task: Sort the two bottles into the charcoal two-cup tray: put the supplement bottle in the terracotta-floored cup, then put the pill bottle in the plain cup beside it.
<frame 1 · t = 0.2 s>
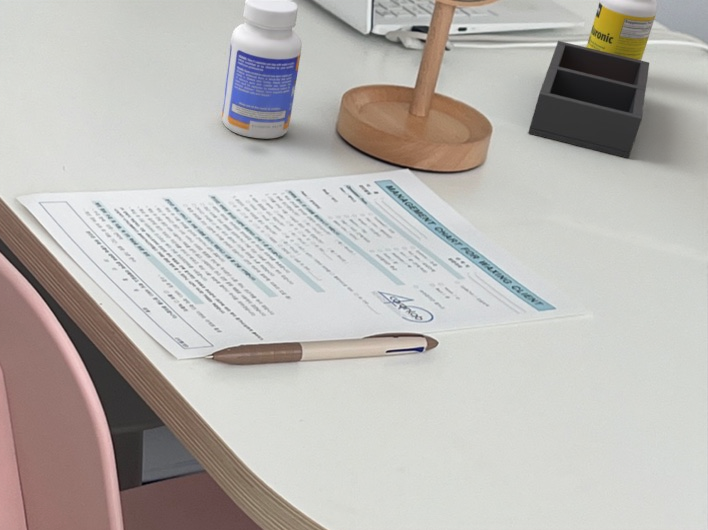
sorting tray: (585, 115, 117), on the table
pill bottle: (253, 129, 103), on the table
supplement bottle: (606, 75, 128), on the table
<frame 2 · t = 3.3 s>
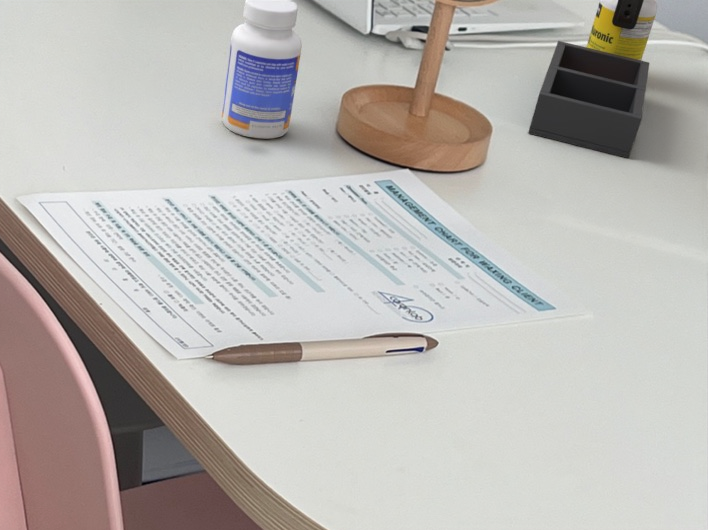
hand: (624, 17, 124), 5 cm above the table, tool pointing down, fingers closed on supplement bottle, 5 cm apart
supplement bottle: (606, 75, 128), on the table, touching gripper
everything else where it was.
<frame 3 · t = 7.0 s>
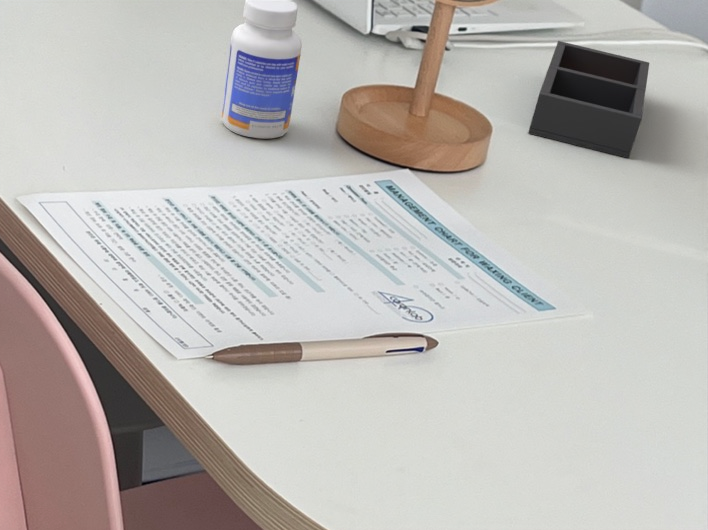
when the fingers open (6 cm above the table, at t = 10.5 s): supplement bottle stays where it is, resting on sorting tray.
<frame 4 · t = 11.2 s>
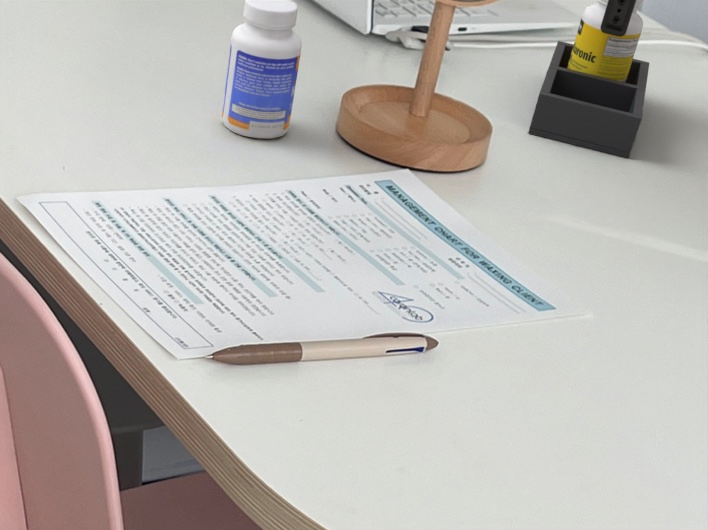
hand: (615, 21, 116), 7 cm above the table, tool pointing down, fingers open, 8 cm apart
supplement bottle: (589, 96, 119), point 1 cm above the table, touching sorting tray
everything else where it was.
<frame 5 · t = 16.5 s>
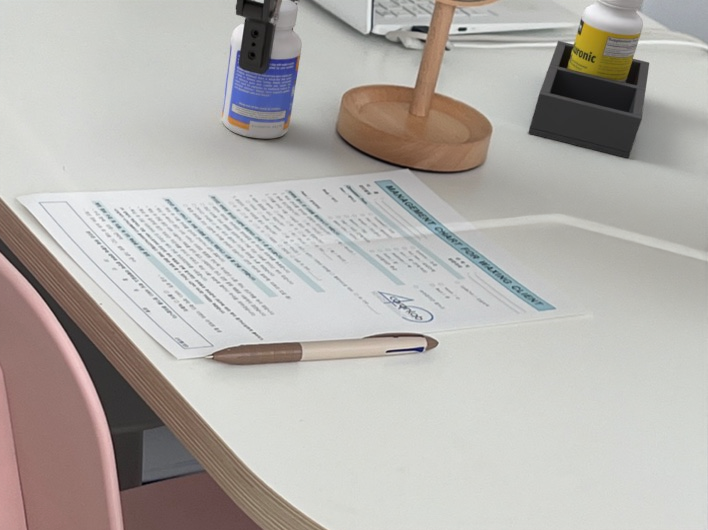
hand: (264, 58, 100), 5 cm above the table, tool pointing down, fingers closed on pill bottle, 5 cm apart
pill bottle: (253, 129, 103), on the table, touching gripper
everything else where it was.
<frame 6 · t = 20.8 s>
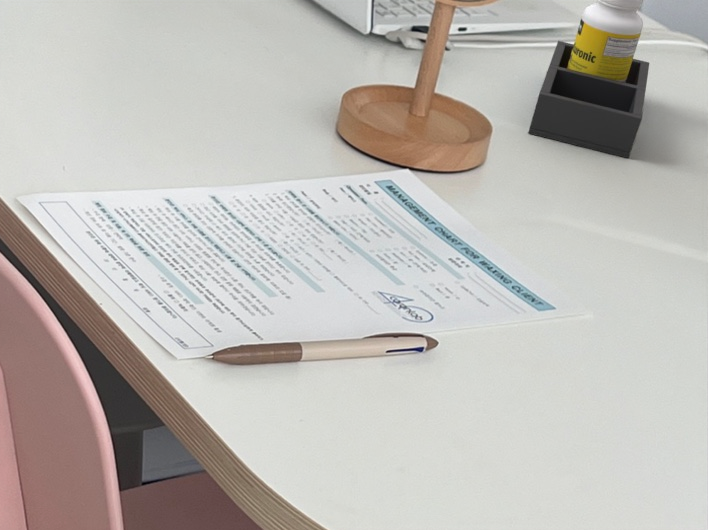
when the fingers open (6 cm above the table, at t = 25.1 s): pill bottle stays where it is, resting on sorting tray.
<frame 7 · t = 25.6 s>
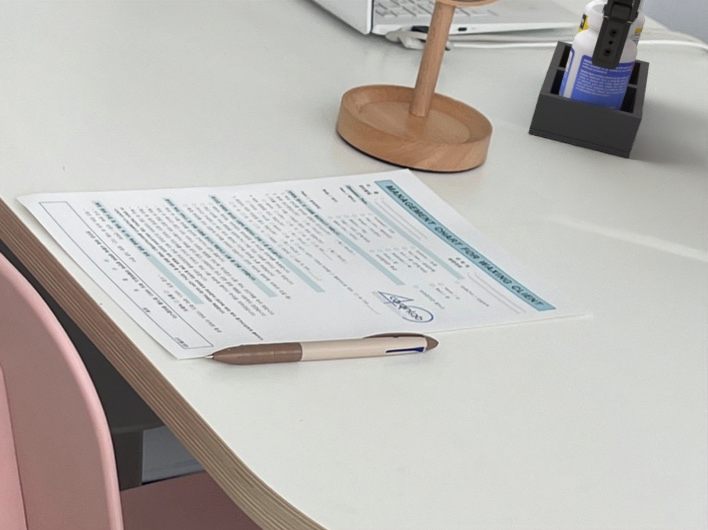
hand: (606, 52, 110), 7 cm above the table, tool pointing down, fingers open, 8 cm apart
pill bottle: (581, 126, 113), resting on sorting tray
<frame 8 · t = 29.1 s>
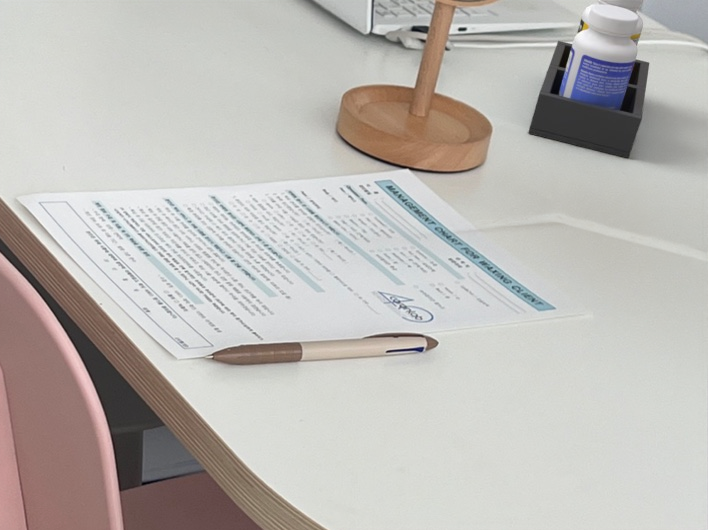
nothing on the table moved.
at the end: supplement bottle 0.2 cm from the target spot in the sorting tray, point 0.5 cm above the sorting tray's base; pill bottle 0.2 cm from the target spot in the sorting tray, point 0.3 cm above the sorting tray's base; pill bottle tilted 0° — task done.
